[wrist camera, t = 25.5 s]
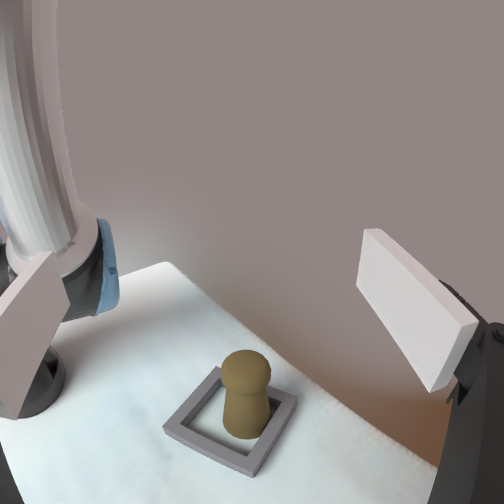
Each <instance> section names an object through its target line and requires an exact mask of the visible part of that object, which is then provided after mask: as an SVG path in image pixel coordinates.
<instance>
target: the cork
mask: <svg viewBox="0 0 504 504" xmlns="http://www.w3.org/2000/svg"><path fill="white" fill-rule="evenodd" d="M220 373H221V379H222V382H223V384H224V386H225V387H226V396H225V405H224V414H223V424H224V427H225V429H226V430H227V432H228V433H230V434H231V435H232V436H234V437H237V438H240V439H254V438H258V437H260V436H261V434H262V433H263V431H264V430H265V428H266V427H267V425H268V423H269V422H270V420H271V412H270V406H269V400H268V395H267V389H266V387H267V385H268V383H269V381H270V379H271V368H270V365H269V362H268V360H267V359H266V358H265V357H264V356H263V355H262V354H260V353H258V352H256V351H252V350H240V351H236V352H234V353H232V354H230V355H229V356H228V357H227V358H226V359H225V360H224V362H223V363H222V367H221V372H220Z"/></svg>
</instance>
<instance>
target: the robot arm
mask: <svg viewBox="0 0 504 504" xmlns="http://www.w3.org/2000/svg"><path fill="white" fill-rule="evenodd" d="M0 219H1V221H2V223H3V225H4V228H5V230H6V232H7V234H8V239H7V243H4V244H3V243H2V238H1V237H0V417H4V418H8V419H12V420H17V418H26V417H30V416H33V415H35V414H38V413H40V412H41V411H43V410H44V409H46V408H47V407H48V406H49V405H51V404H52V403H53V401H54V400H55V399H56V398H57V396H58V395H59V393H60V392H61V390H62V387H63V384H64V380H65V369H64V366H63V364H62V362H61V360H60V358H59V356H58V354H57V353H56V351H55V350H54V349H53V348H52V347H51V346H50V343H51V341H52V339H53V337H54V335H55V333H56V331H57V329H58V327H59V325H60V323H62V322H66V321H70V320H74V319H78V318H83V317H87V316H97V315H98V314H99V313H102V312H105V311H108V310H111V309H113V308H114V307H115V306H116V305H117V304H118V301H119V295H120V292H119V279H118V272H117V269H116V266H117V265H116V256H115V249H114V243H113V237H112V233H111V228H110V225H109V223H108V221H107V220H105V219H97V218H95V216H94V214H93V212H92V211H91V209H90V208H89V207H87V206H86V205H85V204H83V203H81V202H79V201H78V198H77V193H76V189H75V184H74V180H73V175H72V170H71V165H70V160H69V154H68V149H67V142H66V136H65V130H64V122H63V115H62V107H61V98H60V88H59V76H58V60H57V0H0ZM356 286H357V287H358V289H359V290H360V291H361V293H362V294H363V296H364V297H365V298H366V300H367V301H368V303H369V304H370V305H371V307H372V308H373V310H374V311H375V312H376V314H377V315H378V317H379V318H380V319H381V321H382V323H383V324H384V325H385V327H386V328H387V330H388V331H389V333H390V334H391V335H392V337H393V339H394V340H395V341H396V343H397V345H398V346H399V348H400V349H401V350H402V352H403V354H404V355H405V357H406V358H407V360H408V361H409V362H410V364H411V366H412V367H413V369H414V370H415V372H416V373H417V375H418V376H419V378H420V380H421V381H422V383H423V384H424V386H425V387H426V389H427V391H428V392H429V393H431V392H434V391H436V390H439V389H442V388H444V387H446V386H447V385H448V383H449V381H450V379H451V378H452V376H453V374H454V375H455V376H456V378H457V379H458V382H457V384H456V386H455V387H454V389H453V391H452V392H451V394H450V396H449V397H448V399H447V401H446V403H447V404H448V403H449V402H450V401H451V399H452V398H453V402H452V408H451V414H450V420H449V425H448V430H447V435H446V440H445V444H444V448H443V452H442V456H441V460H440V464H439V468H438V471H437V475H436V478H435V481H434V485H433V488H432V491H431V494H430V497H429V500H428V503H427V504H504V324H502V323H496V322H494V323H490V324H488V323H487V322H486V321H485V320H484V319H483V318H482V317H481V316H480V315H479V314H478V313H477V312H476V311H475V310H474V308H472V307H471V306H470V305H469V304H468V303H467V302H465V300H464V299H463V298H462V297H461V296H459V294H458V293H457V292H456V291H455V290H454V289H453V288H452V287H451V286H449V285H447V284H446V283H444V282H442V281H441V280H437V279H436V278H435V277H434V276H433V275H432V274H431V273H430V272H429V271H428V270H427V269H425V268H424V267H423V266H422V265H421V264H420V263H419V262H418V261H417V260H416V259H414V258H413V257H412V256H411V255H410V254H409V253H408V252H407V251H405V250H404V249H403V248H402V247H401V246H400V245H398V244H397V243H396V242H395V241H394V240H393V239H392V238H390V237H389V236H388V235H387V234H386V233H385V232H383V231H382V230H381V229H380V228H379V229H364V235H363V243H362V250H361V257H360V263H359V269H358V276H357V281H356ZM0 504H24V502H23V499H22V497H21V495H20V493H19V491H18V488H17V486H16V484H15V481H14V479H13V476H12V474H11V471H10V468H9V466H8V463H7V460H6V458H5V455H4V452H3V449H2V446H1V443H0Z"/></svg>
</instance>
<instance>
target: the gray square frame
mask: <svg viewBox="0 0 504 504" xmlns="http://www.w3.org/2000/svg"><path fill="white" fill-rule="evenodd" d="M220 372H221V368H219V367H217V366H216V367H215V368H214V369H213V370H212V372H211V373H210V374H209V375H208V376H207V377H206V378H205V379H204V381H203V382H202V383H201V384H200V385H199V386H198V387H197V389H196V390H195V391H194V392H193V393H192V394H191V395H190V396H189V398H188V399H187V400H186V401H185V402H184V403H183V404H182V405H181V406H180V407H179V409H178V410H177V411H176V412H175V413H174V414H173V415H172V416H171V417H170V418H169V420H168V421H167V422H166V423H165V424H164V425H163V426H162V427H163V429H164V431H165V434H167V435H169V436H170V437H172V438H174V439H175V440H177V441H179V442H181V443H182V444H184V445H186V446H188V447H190V448H192V449H193V450H195V451H197V452H199V453H201V454H203V455H205V456H207V457H209V458H211V459H213V460H215V461H217V462H219V463H221V464H223V465H225V466H227V467H229V468H231V469H233V470H236V471H238V472H240V473H242V474H245V475H247V476H249V477H252V478H253V477H254V476H255V474H256V473H257V471H258V470H259V468H260V466H261V465H262V463H263V462H264V460H265V458H266V457H267V455H268V453H269V452H270V450H271V448H272V447H273V445H274V443H275V442H276V440H277V438H278V437H279V435H280V433H281V432H282V430H283V428H284V426H285V425H286V423H287V421H288V419H289V417H290V416H291V414H292V412H293V410H294V408H295V407H296V405H297V398H298V397H297V396H294V395H291V394H288V393H285V392H283V391H280V390H277V389H274V388H271V387H268V386H267V387H266V389H267V395H268V400H269V405H271V406H274V407H276V408H278V409H277V410H276V412H275V414H274V415H273V417H272V418H271V420H270V422H269V423H268V425H267V427H266V428H265V430H264V431H263V433H262V434H261V436H260V438H259V439H258V441H257V442H256V444H255V445H254V447H253V448H252V450H251V451H250V453H249V454H248V456H247V457H246V456H244V455H242V454H239V453H237V452H235V451H233V450H230V449H228V448H226V447H224V446H222V445H220V444H218V443H216V442H214V441H212V440H210V439H207V438H206V437H204V436H202V435H200V434H198V433H196V432H194V431H192V430H190V429H188V428H186V426H187V425H188V424H189V423H190V422H191V420H192V419H193V418H194V417H195V416H196V414H197V413H198V412H199V411H200V410H201V409H202V407H203V406H204V405H205V404H206V403H207V401H208V400H209V399H210V398H211V397H212V395H213V394H214V393H215V392H216V390H217V389H218V388H219V387H220V386H223V387H225V386H224V384H223V382H222V379H221V373H220Z"/></svg>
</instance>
